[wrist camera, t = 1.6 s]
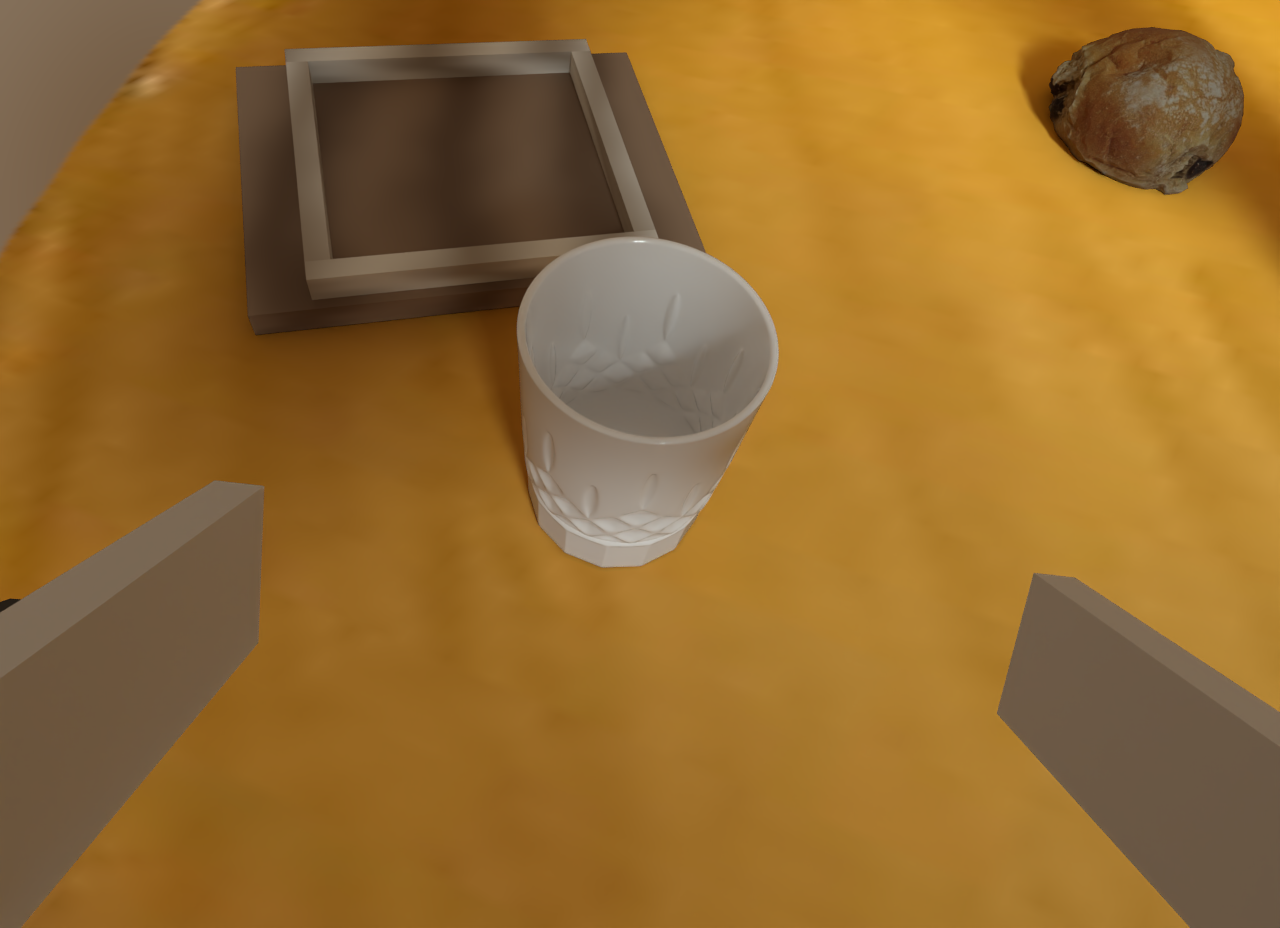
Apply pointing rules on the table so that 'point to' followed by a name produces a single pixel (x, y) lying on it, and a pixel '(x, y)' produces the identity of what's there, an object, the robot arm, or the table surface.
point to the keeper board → (439, 176)
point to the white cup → (636, 391)
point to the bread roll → (1148, 107)
